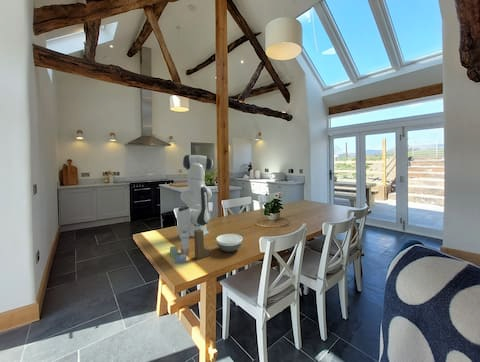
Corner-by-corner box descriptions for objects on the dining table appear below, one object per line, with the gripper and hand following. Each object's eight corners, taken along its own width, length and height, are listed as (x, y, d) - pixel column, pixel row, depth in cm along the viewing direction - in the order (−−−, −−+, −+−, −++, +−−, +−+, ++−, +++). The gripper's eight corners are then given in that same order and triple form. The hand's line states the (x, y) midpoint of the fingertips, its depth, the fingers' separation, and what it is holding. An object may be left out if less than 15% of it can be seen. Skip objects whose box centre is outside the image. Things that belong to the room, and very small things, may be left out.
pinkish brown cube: (181, 252, 155) (181, 245, 155) (188, 251, 157) (188, 244, 156) (181, 255, 151) (181, 248, 150) (188, 254, 152) (188, 247, 151)
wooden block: (206, 253, 154) (205, 227, 152) (210, 255, 150) (209, 229, 148) (194, 257, 148) (193, 230, 146) (198, 259, 144) (197, 232, 142)
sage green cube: (170, 253, 154) (170, 246, 153) (178, 252, 155) (178, 245, 154) (170, 256, 149) (170, 249, 148) (178, 256, 150) (177, 248, 150)
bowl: (211, 248, 163) (211, 236, 162) (233, 242, 173) (233, 232, 172) (224, 257, 147) (224, 245, 146) (247, 251, 157) (247, 239, 156)
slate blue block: (174, 258, 146) (174, 255, 145) (186, 257, 147) (186, 253, 147) (174, 263, 139) (174, 260, 139) (186, 262, 141) (186, 258, 140)
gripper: (179, 226, 161) (180, 245, 163) (179, 236, 141) (180, 257, 143) (188, 226, 163) (189, 244, 164) (189, 235, 143) (190, 256, 144)
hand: (185, 250), depth 153 cm, fingers closed on pinkish brown cube, 5 cm apart
